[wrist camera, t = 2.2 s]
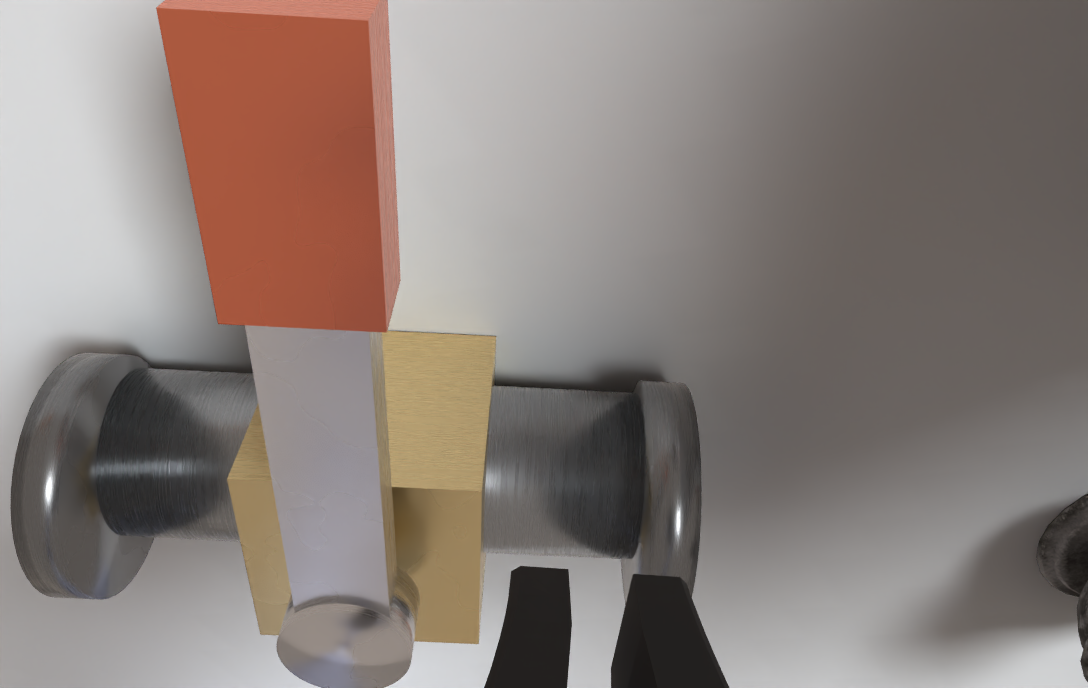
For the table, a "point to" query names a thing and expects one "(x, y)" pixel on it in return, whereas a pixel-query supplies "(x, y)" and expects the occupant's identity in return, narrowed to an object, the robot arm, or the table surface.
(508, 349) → the table surface
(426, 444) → the valve
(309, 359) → the valve lever
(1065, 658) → the table surface
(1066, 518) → the salt shaker
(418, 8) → the table surface
